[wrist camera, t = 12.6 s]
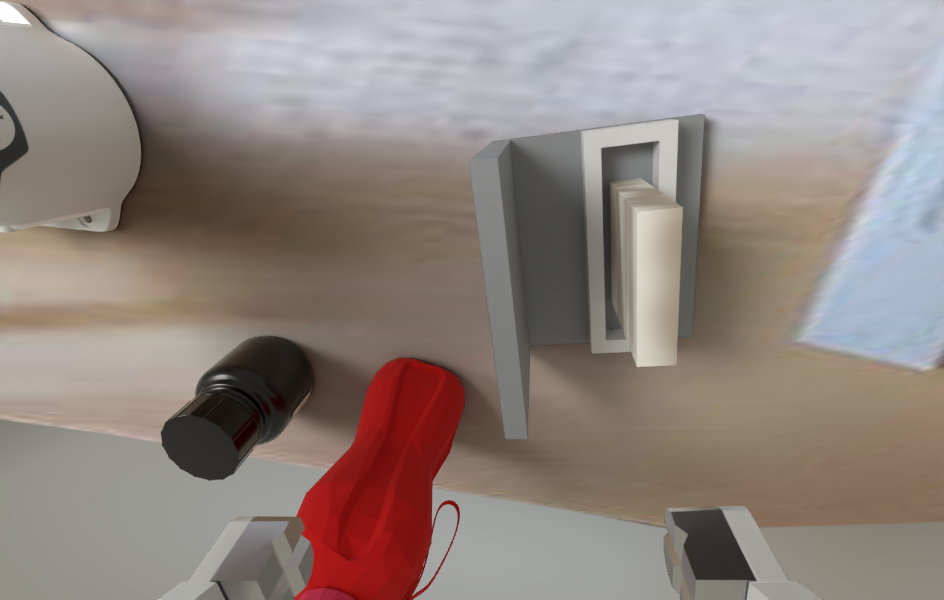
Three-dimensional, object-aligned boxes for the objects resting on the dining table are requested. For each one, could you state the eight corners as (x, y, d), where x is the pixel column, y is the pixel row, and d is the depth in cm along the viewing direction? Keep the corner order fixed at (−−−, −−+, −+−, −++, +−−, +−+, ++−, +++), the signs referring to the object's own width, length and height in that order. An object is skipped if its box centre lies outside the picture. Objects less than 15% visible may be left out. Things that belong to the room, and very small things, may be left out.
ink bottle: (246, 406, 51) (166, 488, 40) (221, 335, 47) (127, 404, 36) (328, 405, 49) (268, 490, 38) (308, 332, 46) (237, 403, 35)
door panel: (610, 299, 39) (636, 367, 29) (608, 181, 35) (637, 211, 25) (643, 297, 39) (681, 364, 29) (645, 177, 35) (688, 206, 25)
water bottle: (467, 445, 49) (407, 743, 26) (370, 416, 49) (225, 686, 26) (491, 376, 45) (445, 653, 22) (385, 344, 45) (232, 587, 22)
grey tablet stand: (514, 340, 43) (505, 439, 30) (492, 141, 36) (468, 161, 24) (688, 330, 41) (757, 434, 28) (699, 114, 34) (797, 120, 21)
